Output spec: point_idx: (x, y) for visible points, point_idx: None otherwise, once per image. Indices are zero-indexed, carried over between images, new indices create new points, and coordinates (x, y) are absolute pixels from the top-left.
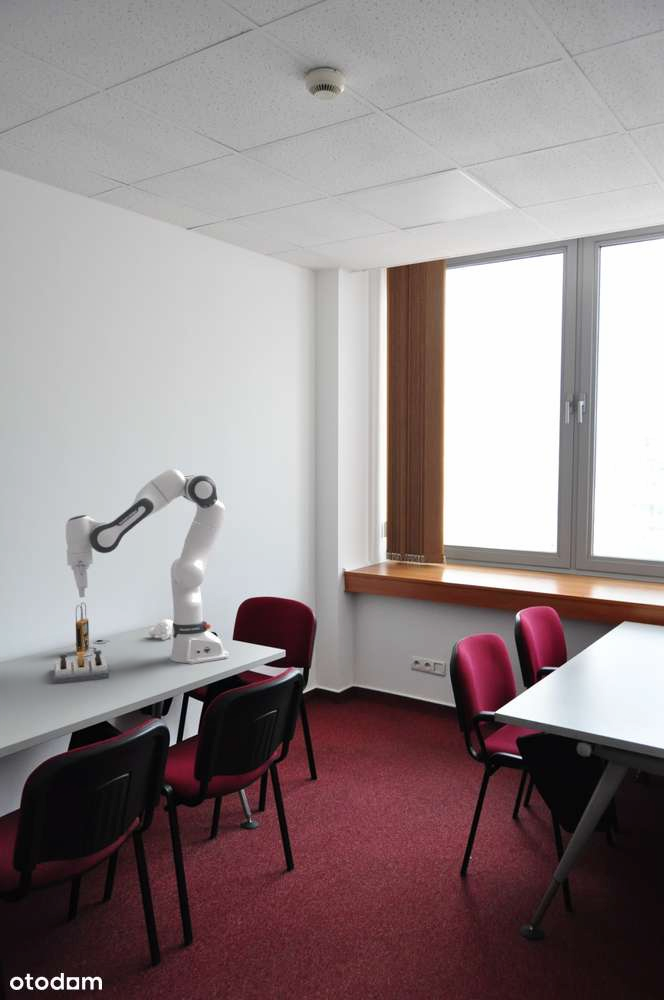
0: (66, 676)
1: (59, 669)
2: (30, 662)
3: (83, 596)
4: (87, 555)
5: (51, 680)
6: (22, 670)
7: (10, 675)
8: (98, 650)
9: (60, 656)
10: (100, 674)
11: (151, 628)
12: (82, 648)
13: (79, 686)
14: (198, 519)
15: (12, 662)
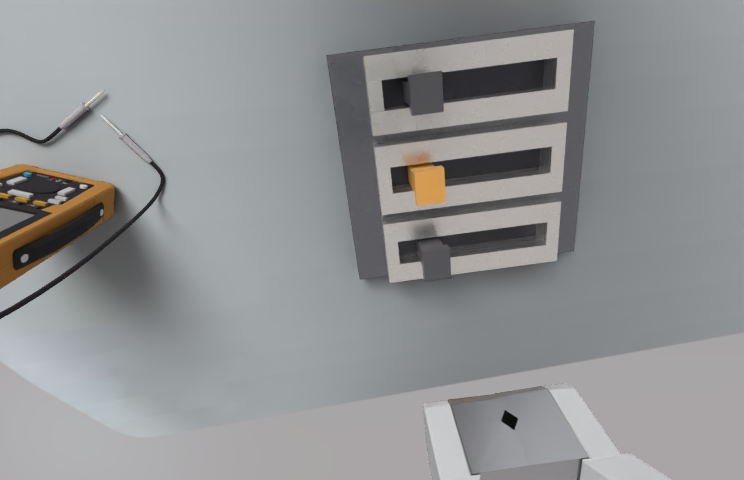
0: (568, 210)
1: (545, 248)
2: (226, 364)
3: (571, 399)
4: None
5: None
6: (336, 369)
7: (390, 390)
8: (412, 89)
9: (450, 271)
10: (588, 64)
11: None
12: (100, 195)
13: (639, 147)
14: None
15: (217, 415)
